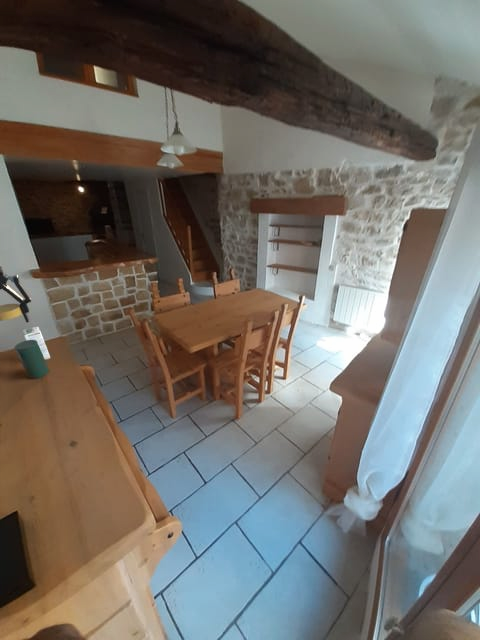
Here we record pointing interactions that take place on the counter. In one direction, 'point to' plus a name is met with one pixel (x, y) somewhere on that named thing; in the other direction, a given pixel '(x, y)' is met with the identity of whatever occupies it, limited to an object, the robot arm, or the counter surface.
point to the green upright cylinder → (32, 359)
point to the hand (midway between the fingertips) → (12, 324)
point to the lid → (9, 311)
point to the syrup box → (37, 339)
